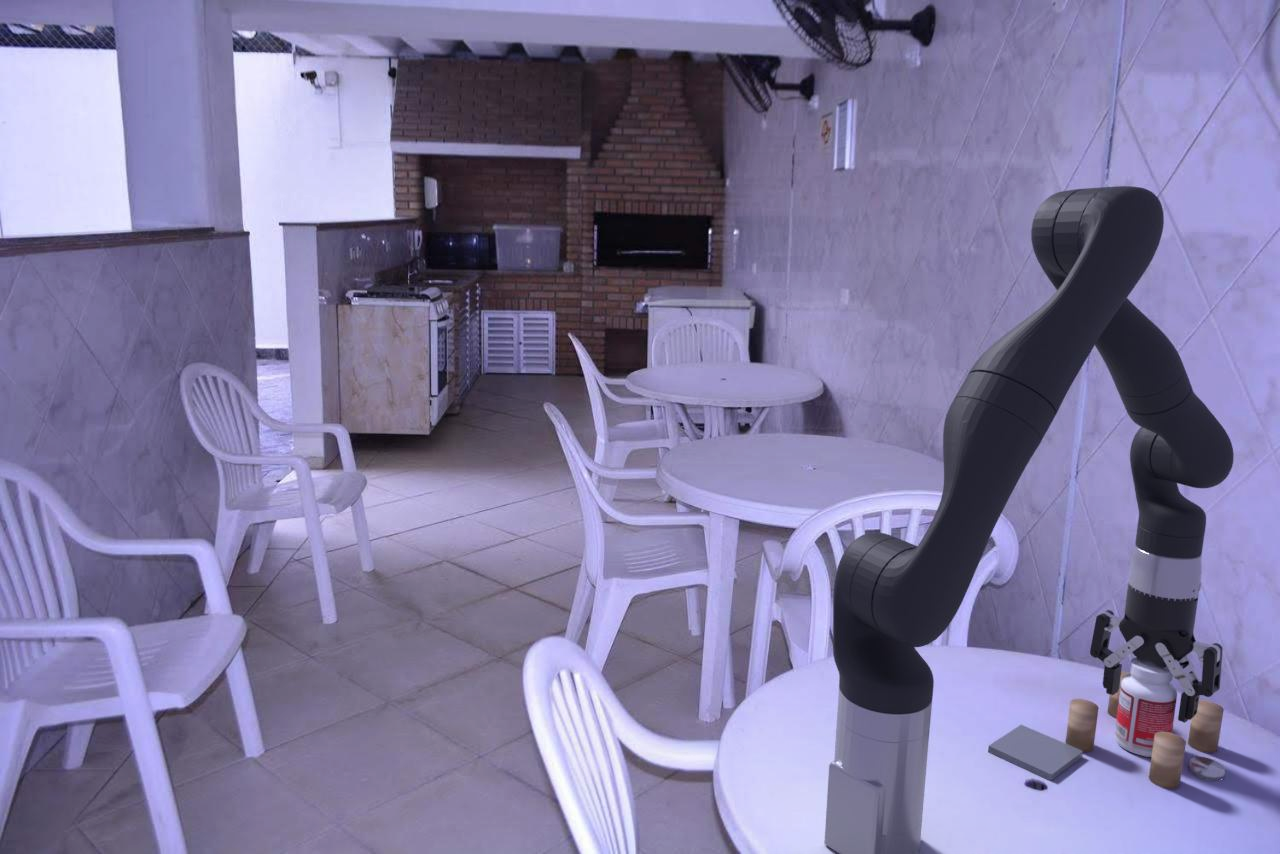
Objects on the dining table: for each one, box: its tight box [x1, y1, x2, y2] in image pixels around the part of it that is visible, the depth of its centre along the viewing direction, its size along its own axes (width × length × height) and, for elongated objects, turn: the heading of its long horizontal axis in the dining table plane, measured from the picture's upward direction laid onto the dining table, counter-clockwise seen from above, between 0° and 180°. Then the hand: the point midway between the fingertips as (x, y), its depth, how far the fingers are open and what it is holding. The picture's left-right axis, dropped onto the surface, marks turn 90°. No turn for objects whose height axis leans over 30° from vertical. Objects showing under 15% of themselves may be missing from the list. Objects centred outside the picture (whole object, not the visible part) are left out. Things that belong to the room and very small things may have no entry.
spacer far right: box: [1107, 670, 1130, 719], centre depth 123 cm, size 3×3×6 cm
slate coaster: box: [987, 724, 1084, 781], centre depth 114 cm, size 8×8×1 cm
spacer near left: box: [1148, 732, 1187, 790], centre depth 108 cm, size 3×3×6 cm
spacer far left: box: [1187, 699, 1224, 754], centre depth 115 cm, size 3×3×6 cm
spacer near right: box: [1065, 698, 1099, 753], centre depth 115 cm, size 3×3×6 cm
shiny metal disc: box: [1188, 756, 1226, 782], centre depth 110 cm, size 4×4×1 cm
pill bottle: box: [1114, 656, 1178, 758], centre depth 115 cm, size 6×6×11 cm
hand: (1147, 705), depth 115 cm, fingers open, 8 cm apart
